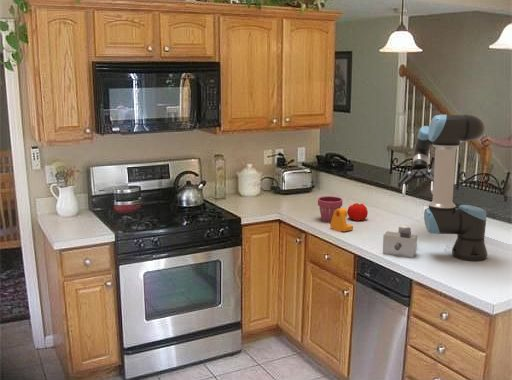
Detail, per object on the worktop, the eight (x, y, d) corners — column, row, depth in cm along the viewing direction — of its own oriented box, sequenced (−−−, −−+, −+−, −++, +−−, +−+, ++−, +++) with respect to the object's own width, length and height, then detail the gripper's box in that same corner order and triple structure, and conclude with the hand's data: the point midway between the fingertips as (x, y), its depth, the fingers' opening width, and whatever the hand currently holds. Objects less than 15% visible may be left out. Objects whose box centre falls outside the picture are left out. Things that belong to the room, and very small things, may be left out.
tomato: (350, 216, 316) (350, 201, 314) (370, 218, 311) (370, 203, 309) (344, 220, 307) (344, 205, 305) (364, 223, 302) (365, 207, 300)
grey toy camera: (420, 247, 258) (421, 225, 255) (412, 259, 241) (413, 235, 238) (391, 243, 264) (392, 222, 262) (381, 254, 247) (382, 232, 245)
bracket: (353, 230, 287) (354, 209, 284) (344, 232, 282) (345, 211, 280) (339, 226, 295) (340, 205, 293) (330, 228, 291) (330, 207, 288)
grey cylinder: (411, 248, 256) (413, 226, 254) (405, 250, 253) (406, 228, 250) (401, 245, 260) (402, 224, 258) (395, 248, 257) (396, 226, 254)
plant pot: (339, 224, 299) (340, 202, 296) (315, 222, 303) (315, 200, 301) (343, 218, 312) (344, 197, 309) (320, 216, 316) (320, 195, 314)
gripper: (446, 167, 271) (445, 196, 257) (397, 172, 282) (393, 200, 268) (444, 156, 267) (443, 185, 253) (394, 162, 278) (390, 190, 264)
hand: (417, 193), depth 260 cm, fingers open, 13 cm apart
